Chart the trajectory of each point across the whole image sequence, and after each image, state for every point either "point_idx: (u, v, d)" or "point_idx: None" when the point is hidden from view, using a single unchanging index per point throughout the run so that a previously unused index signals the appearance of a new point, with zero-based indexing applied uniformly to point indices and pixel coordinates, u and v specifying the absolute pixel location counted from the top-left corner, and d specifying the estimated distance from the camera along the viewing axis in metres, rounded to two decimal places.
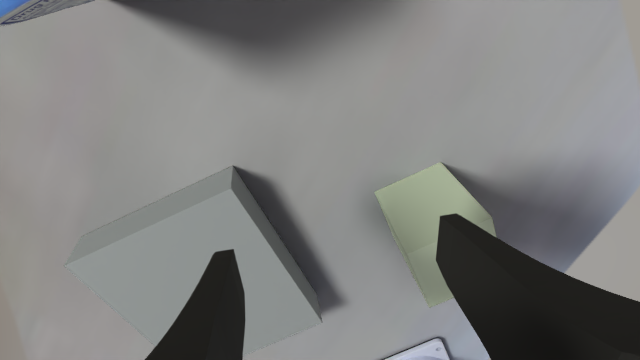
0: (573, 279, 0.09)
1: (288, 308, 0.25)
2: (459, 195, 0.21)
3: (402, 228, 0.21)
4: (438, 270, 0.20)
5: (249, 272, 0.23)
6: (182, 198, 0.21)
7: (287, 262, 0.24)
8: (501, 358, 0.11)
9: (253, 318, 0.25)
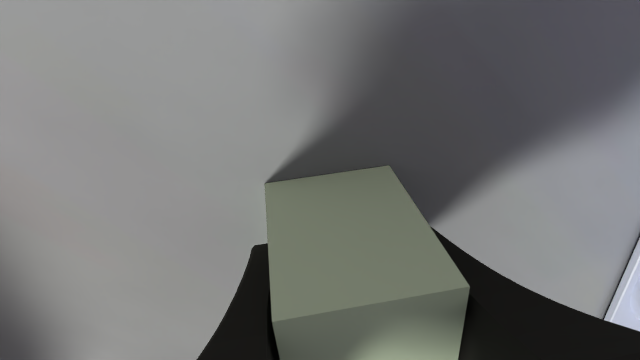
0: (523, 288, 0.09)
1: None
2: None
3: None
4: None
5: None
6: None
7: None
8: None
9: None
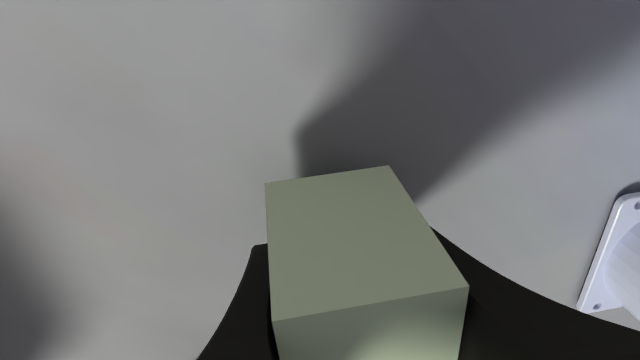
0: (522, 288, 0.09)
1: None
2: None
3: None
4: None
5: None
6: None
7: None
8: None
9: None
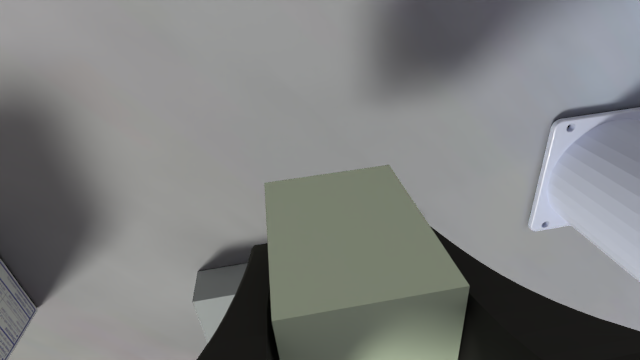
0: (523, 288, 0.09)
1: None
2: None
3: None
4: None
5: None
6: None
7: None
8: None
9: None
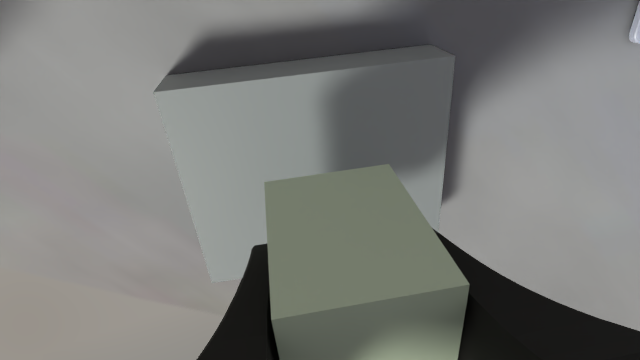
0: (522, 288, 0.09)
1: (395, 95, 0.16)
2: None
3: None
4: None
5: (302, 122, 0.16)
6: None
7: (326, 65, 0.16)
8: None
9: (386, 146, 0.17)
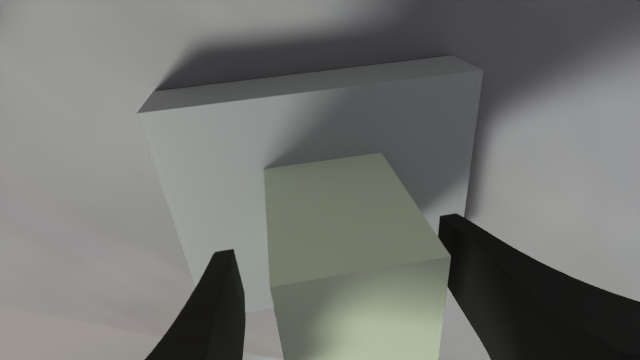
0: (573, 279, 0.09)
1: (414, 114, 0.14)
2: None
3: None
4: (356, 358, 0.11)
5: (309, 145, 0.14)
6: None
7: (335, 80, 0.14)
8: (501, 358, 0.11)
9: (403, 170, 0.15)
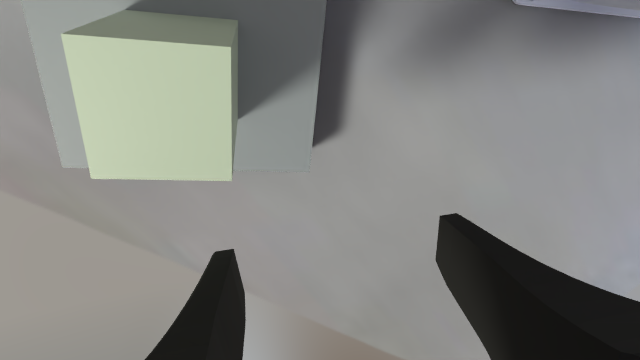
0: (573, 279, 0.09)
1: None
2: None
3: None
4: (151, 147, 0.12)
5: None
6: None
7: None
8: (501, 358, 0.11)
9: (258, 44, 0.17)
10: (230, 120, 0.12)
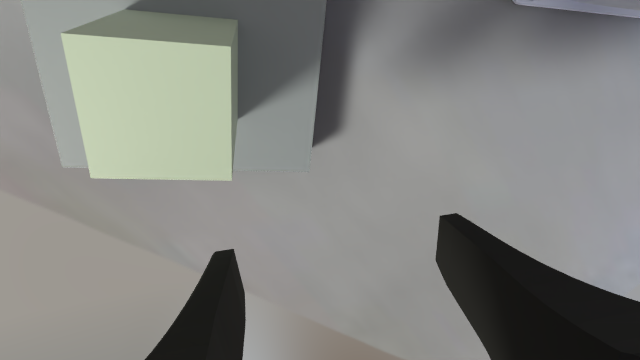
0: (573, 279, 0.09)
1: None
2: None
3: None
4: (151, 146, 0.12)
5: None
6: None
7: None
8: (501, 358, 0.11)
9: (258, 44, 0.17)
10: (230, 120, 0.12)
